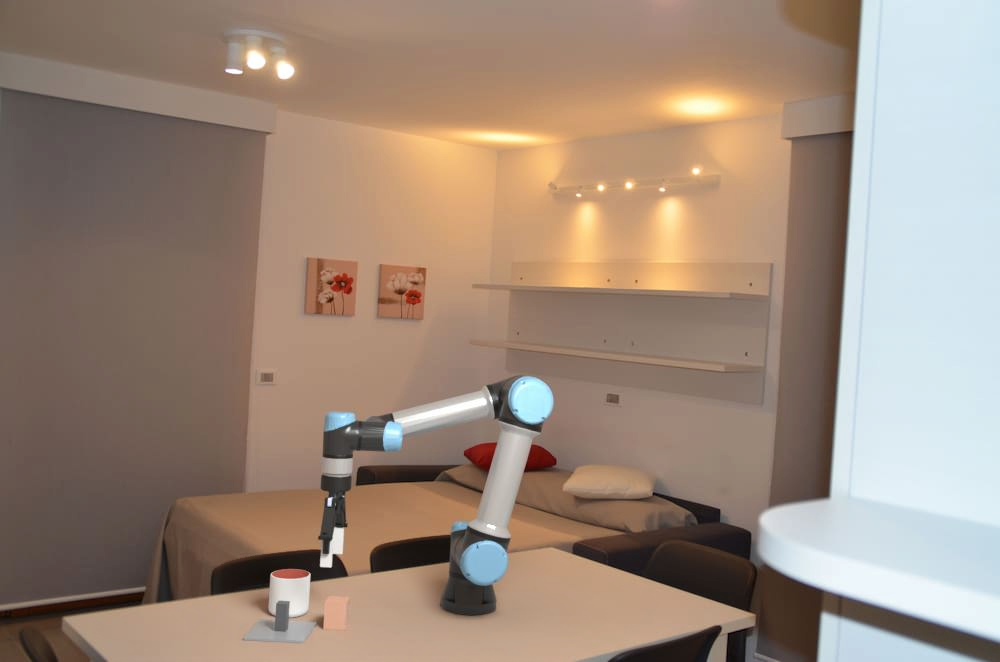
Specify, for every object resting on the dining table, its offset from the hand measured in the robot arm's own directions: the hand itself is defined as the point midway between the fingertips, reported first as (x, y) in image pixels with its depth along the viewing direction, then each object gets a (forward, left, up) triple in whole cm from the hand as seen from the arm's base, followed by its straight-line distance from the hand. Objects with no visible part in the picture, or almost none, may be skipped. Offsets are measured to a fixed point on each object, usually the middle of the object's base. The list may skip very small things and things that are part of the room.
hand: (331, 560), depth 215 cm
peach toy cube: (-2, +1, -16) cm, 16 cm away
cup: (+12, -7, -16) cm, 21 cm away
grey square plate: (+10, +7, -16) cm, 20 cm away
